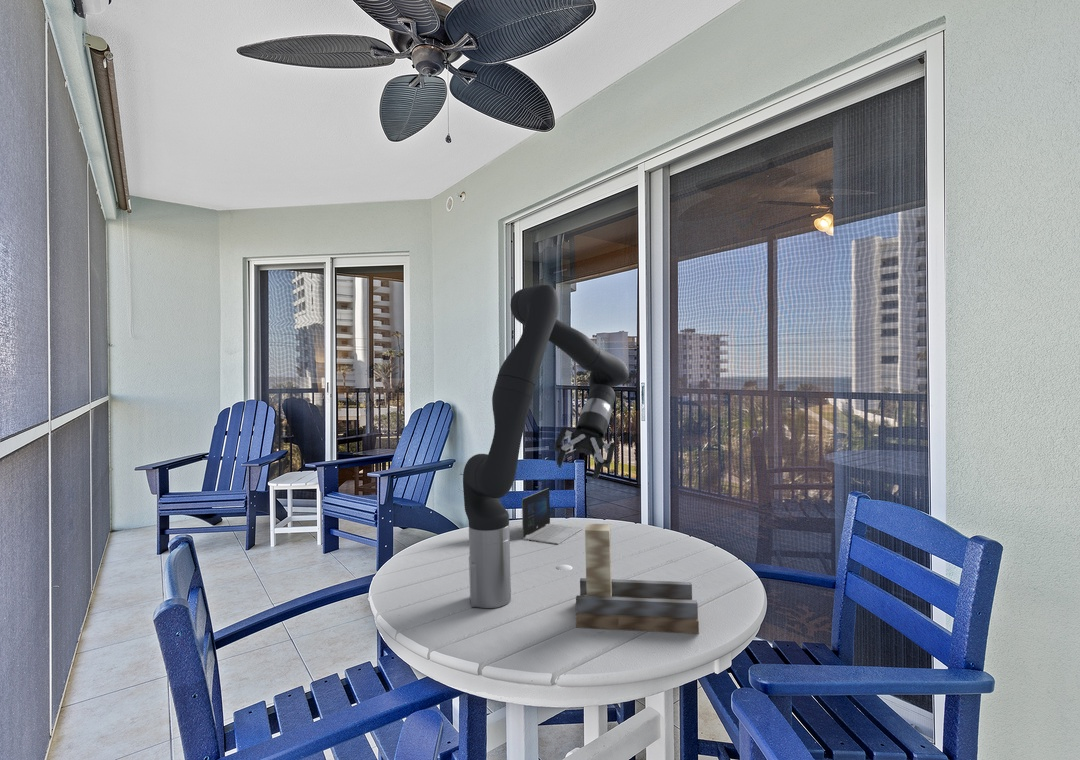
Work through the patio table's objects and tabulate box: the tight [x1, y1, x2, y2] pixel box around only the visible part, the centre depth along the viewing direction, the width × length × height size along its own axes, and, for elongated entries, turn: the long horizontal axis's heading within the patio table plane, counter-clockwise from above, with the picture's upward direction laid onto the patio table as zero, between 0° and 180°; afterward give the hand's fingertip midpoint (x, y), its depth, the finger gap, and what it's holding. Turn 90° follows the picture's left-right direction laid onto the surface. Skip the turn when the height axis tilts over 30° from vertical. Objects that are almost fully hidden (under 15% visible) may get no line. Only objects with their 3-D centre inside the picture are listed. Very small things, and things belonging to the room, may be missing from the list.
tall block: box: [584, 523, 612, 597], centre depth 115 cm, size 5×5×16 cm
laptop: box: [521, 487, 583, 545], centre depth 174 cm, size 18×12×13 cm
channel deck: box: [575, 577, 700, 635], centre depth 114 cm, size 24×13×6 cm, turn 81°
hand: (576, 471), depth 129 cm, fingers open, 8 cm apart
